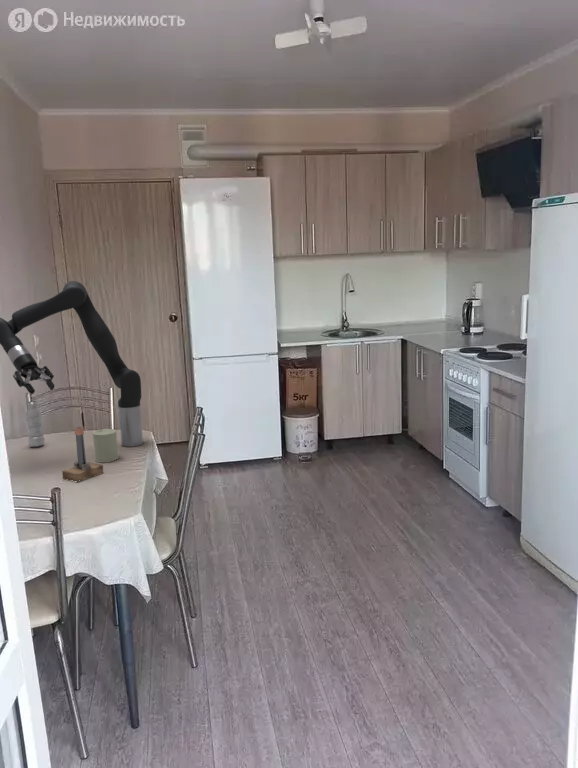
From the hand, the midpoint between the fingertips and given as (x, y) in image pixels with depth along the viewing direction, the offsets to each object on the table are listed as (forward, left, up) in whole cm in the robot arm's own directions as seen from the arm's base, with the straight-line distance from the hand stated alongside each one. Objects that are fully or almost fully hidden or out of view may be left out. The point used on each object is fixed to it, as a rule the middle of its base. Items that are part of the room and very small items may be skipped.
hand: (43, 390), depth 239 cm
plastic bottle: (-29, -19, -31) cm, 46 cm away
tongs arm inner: (+10, +17, -27) cm, 34 cm away
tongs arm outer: (+11, +17, -27) cm, 34 cm away
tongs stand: (+10, +17, -31) cm, 36 cm away
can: (-10, +19, -31) cm, 37 cm away
